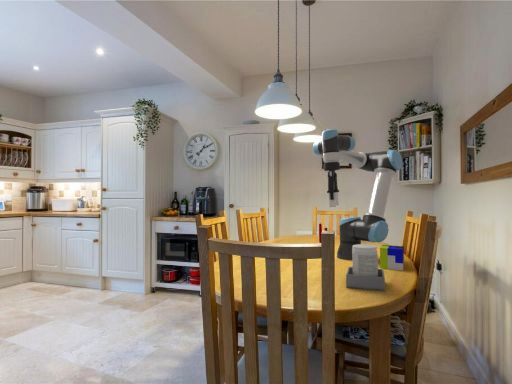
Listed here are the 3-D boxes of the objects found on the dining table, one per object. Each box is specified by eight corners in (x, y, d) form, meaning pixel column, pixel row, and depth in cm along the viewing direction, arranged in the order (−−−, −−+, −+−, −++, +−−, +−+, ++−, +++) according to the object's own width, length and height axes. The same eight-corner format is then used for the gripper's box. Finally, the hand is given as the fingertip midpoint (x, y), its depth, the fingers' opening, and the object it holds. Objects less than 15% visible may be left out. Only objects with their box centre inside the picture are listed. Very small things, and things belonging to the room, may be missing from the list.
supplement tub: (383, 283, 119) (382, 246, 120) (368, 287, 114) (367, 248, 114) (362, 278, 127) (362, 243, 128) (347, 281, 122) (347, 245, 122)
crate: (348, 278, 129) (348, 266, 129) (383, 281, 124) (383, 269, 124) (346, 287, 116) (346, 274, 116) (384, 291, 111) (384, 277, 112)
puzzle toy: (402, 270, 143) (402, 249, 143) (380, 268, 148) (380, 247, 148) (404, 266, 152) (403, 246, 152) (382, 264, 156) (382, 244, 157)
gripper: (326, 164, 158) (329, 205, 158) (319, 160, 135) (322, 208, 135) (341, 163, 156) (344, 204, 155) (336, 159, 132) (340, 207, 132)
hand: (334, 206), depth 145 cm, fingers open, 13 cm apart
